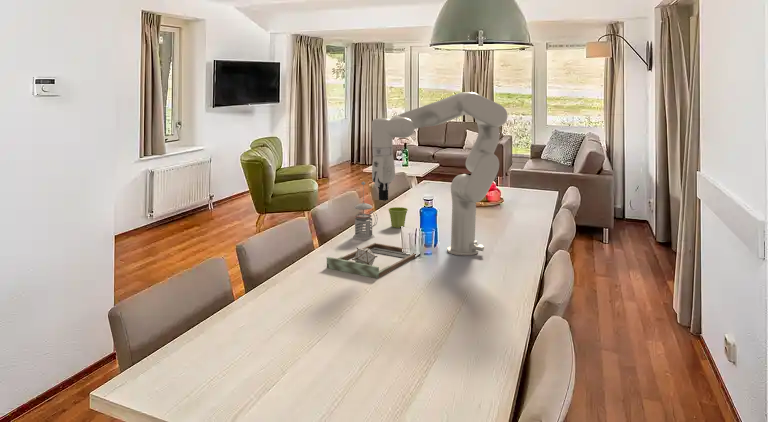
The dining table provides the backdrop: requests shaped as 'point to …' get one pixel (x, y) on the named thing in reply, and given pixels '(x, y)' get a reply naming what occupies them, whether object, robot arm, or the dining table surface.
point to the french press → (363, 221)
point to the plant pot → (397, 216)
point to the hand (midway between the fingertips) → (383, 199)
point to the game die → (364, 256)
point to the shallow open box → (366, 269)
